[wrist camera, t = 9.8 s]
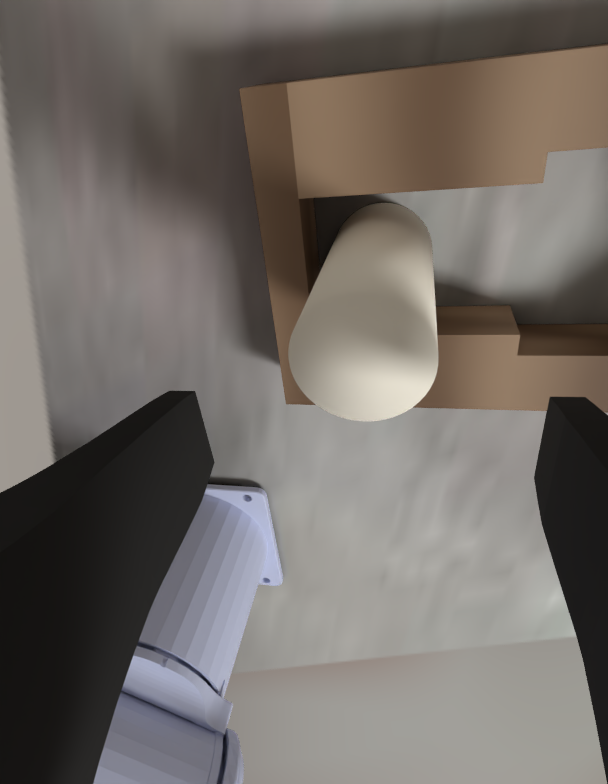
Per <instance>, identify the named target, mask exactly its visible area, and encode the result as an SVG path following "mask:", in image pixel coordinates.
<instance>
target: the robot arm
mask: <svg viewBox="0 0 608 784" xmlns="http://www.w3.org/2000/svg"><path fill="white" fill-rule="evenodd" d="M213 465H214V459H213V455H212V452H211V448H210V444H209V441H208V437H207V433H206V430H205V426H204V422H203V419H202V415H201V411H200V408H199V404H198V400H197V397H196V393H195V391H169V392H167V393H165V394H163V395H161V396H159V397H158V398H156V399H154V400H153V401H151V402H149V403H148V404H146V405H145V406H143V407H142V408H140V409H139V410H137V411H136V412H134V413H133V414H131V415H130V416H128V417H126V418H125V419H123V420H122V421H120V422H119V423H117V424H116V425H114V426H113V427H111V428H110V429H108V430H107V431H105V432H104V433H102V434H101V435H99V436H98V437H96V438H95V439H93V440H91V441H90V442H88V443H87V444H85V445H83V446H82V447H80V448H79V449H77V450H75V451H74V452H72V453H70V454H69V455H67V456H65V457H64V458H62V459H60V460H59V461H57V462H56V463H54V464H52V465H51V466H49V467H47V468H46V469H44V470H42V471H40V472H39V473H37V474H35V475H33V476H32V477H30V478H28V479H26V480H24V481H22V482H21V483H19V484H17V485H15V486H13V487H11V488H9V489H7V490H5V491H3V492H1V493H0V784H243V775H244V761H243V756H242V752H241V748H240V742H239V738H238V735H237V734H236V733H235V732H234V731H233V730H231V729H228V728H227V725H228V721H229V718H230V714H231V711H232V707H233V703H232V702H229V701H228V700H226V699H224V695H225V692H226V689H227V685H228V682H229V679H230V675H231V672H232V669H233V666H234V662H235V659H236V656H237V652H238V649H239V646H240V643H241V639H242V636H243V633H244V629H245V626H246V623H247V620H248V616H249V613H250V610H251V606H252V603H253V600H254V597H255V593H256V590H257V587H258V584H262V585H271V586H278V585H281V584H282V581H283V574H282V569H281V564H280V559H279V554H278V549H277V544H276V539H275V534H274V529H273V523H272V518H271V513H270V508H269V503H268V498H267V494H266V492H265V491H264V490H263V489H261V488H257V487H243V486H228V485H212V484H208V481H209V478H210V475H211V471H212V468H213ZM534 479H535V486H536V492H537V499H538V505H539V510H540V516H541V521H542V526H543V529H544V533H545V536H546V539H547V542H548V546H549V549H550V552H551V556H552V559H553V562H554V565H555V568H556V572H557V575H558V578H559V581H560V584H561V588H562V591H563V594H564V597H565V600H566V603H567V607H568V610H569V613H570V616H571V619H572V623H573V626H574V629H575V632H576V635H577V639H578V643H579V646H580V650H581V654H582V658H583V662H584V666H585V671H586V676H587V681H588V686H589V691H590V696H591V701H592V705H593V710H594V715H595V720H596V725H597V731H598V736H599V742H600V747H601V752H602V757H603V763H604V768H605V774H606V779H607V784H608V415H607V414H605V413H604V412H603V411H602V410H601V409H600V408H598V407H597V406H596V405H595V404H594V403H592V402H591V401H590V400H589V399H587V398H586V397H550V398H549V403H548V408H547V413H546V419H545V424H544V429H543V434H542V439H541V445H540V450H539V455H538V460H537V465H536V471H535V476H534ZM247 495H249V496H247Z"/></svg>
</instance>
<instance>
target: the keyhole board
mask: <svg viewBox="0 0 608 784" xmlns="http://www.w3.org/2000/svg"><path fill="white" fill-rule="evenodd" d="M239 92H240V98H241V105H242V112H243V118H244V125H245V132H246V138H247V145H248V152H249V159H250V165H251V172H252V179H253V185H254V192H255V199H256V205H257V212H258V219H259V226H260V232H261V239H262V246H263V252H264V259H265V266H266V272H267V279H268V286H269V293H270V299H271V306H272V313H273V319H274V326H275V333H276V339H277V346H278V353H279V360H280V366H281V373H282V380H283V386H284V393H285V400H286V404H304V405H316V404H314V403H313V402H312V401H311V400H310V399H309V398H308V397H307V396H306V395H305V394H304V393H303V392H302V391H301V389H300V388H299V386H298V385H297V383H296V381H295V379H294V377H293V375H292V372H291V369H290V364H289V357H288V349H289V342H290V338H291V335H292V332H293V330H294V328H295V326H296V323H297V321H298V319H299V317H300V315H301V313H302V310H303V308H304V306H305V304H306V302H307V299H308V297H309V295H310V293H311V291H312V289H313V286H314V284H315V282H316V280H317V278H318V276H319V273H320V266H319V255H318V244H317V232H316V221H315V210H314V198H319V197H334V196H350V195H365V194H381V193H396V192H412V191H427V190H442V189H458V188H473V187H489V186H504V185H519V184H535V183H543V180H544V173H545V167H546V160H547V153H548V152H554V151H567V150H580V149H593V148H606V147H608V43H607V44H599V45H590V46H582V47H573V48H565V49H556V50H548V51H539V52H531V53H522V54H514V55H505V56H497V57H488V58H480V59H471V60H463V61H454V62H446V63H437V64H429V65H420V66H412V67H403V68H395V69H386V70H378V71H369V72H361V73H352V74H344V75H335V76H327V77H318V78H310V79H301V80H293V81H284V82H276V83H267V84H260V85H255V86H250V87H245V88H240V89H239ZM436 323H437V340H438V369H437V374H436V377H435V380H434V382H433V384H432V386H431V388H430V390H429V391H428V392H427V394H426V395H425V396H424V397H423V399H422V400H421V401H420V402H419V403H417V404H416V405H415V406H414V407H418V408H456V409H494V410H532V411H547V408H548V403H549V398H550V397H586V398H587V399H589V400H590V401H591V402H592V403H594V404H595V405H596V406H597V407H598V408H600V409H601V410H602V411H603V412H608V324H524V325H517V324H516V321H515V318H514V316H513V313H512V310H511V307H510V305H497V306H436Z"/></svg>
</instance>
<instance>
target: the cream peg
mask: <svg viewBox="0 0 608 784" xmlns="http://www.w3.org/2000/svg"><path fill="white" fill-rule="evenodd" d="M288 357H289V364H290V369H291V372H292V375H293V377H294V379H295V381H296V383H297V385H298V386H299V388H300V389H301V391H302V392H303V393H304V394H305V395H306V396H307V397H308V398H309V399H310V400H311V401H312V402H313V403H314V404H316V405H317V406H318V407H320V408H322V409H323V410H325V411H327V412H329V413H331V414H333V415H335V416H338V417H341V418H345V419H349V420H355V421H379V420H384V419H389V418H392V417H395V416H398V415H400V414H402V413H404V412H406V411H408V410H409V409H411V408H412V407H414V406H415V405H416V404H417V403H419V402H420V401H421V400H422V399H423V397H424V396H425V395H426V394H427V392H428V391H429V390H430V388H431V386H432V384H433V382H434V380H435V377H436V374H437V369H438V340H437V323H436V305H435V288H434V271H433V253H432V242H431V237H430V234H429V232H428V229H427V227H426V226H425V224H424V222H423V221H422V220H421V219H420V218H419V217H418V216H417V215H416V214H415V213H414V212H412V211H411V210H409V209H408V208H405V207H403V206H401V205H398V204H393V203H375V204H371V205H368V206H365V207H363V208H361V209H359V210H357V211H356V212H355V213H353V214H352V215H351V216H350V217H349V218H348V219H347V220H346V221H345V222H344V223H343V225H342V226H341V228H340V230H339V232H338V234H337V236H336V239H335V241H334V243H333V245H332V247H331V249H330V252H329V254H328V256H327V258H326V260H325V263H324V265H323V267H322V269H321V271H320V273H319V276H318V278H317V280H316V282H315V284H314V286H313V289H312V291H311V293H310V295H309V297H308V299H307V302H306V304H305V306H304V308H303V310H302V313H301V315H300V317H299V319H298V321H297V323H296V326H295V328H294V330H293V332H292V335H291V338H290V342H289V349H288Z"/></svg>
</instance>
